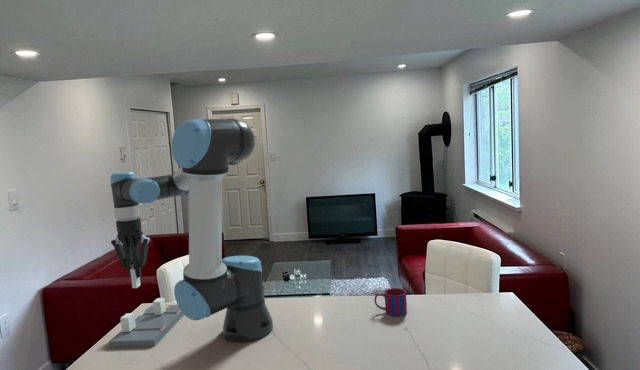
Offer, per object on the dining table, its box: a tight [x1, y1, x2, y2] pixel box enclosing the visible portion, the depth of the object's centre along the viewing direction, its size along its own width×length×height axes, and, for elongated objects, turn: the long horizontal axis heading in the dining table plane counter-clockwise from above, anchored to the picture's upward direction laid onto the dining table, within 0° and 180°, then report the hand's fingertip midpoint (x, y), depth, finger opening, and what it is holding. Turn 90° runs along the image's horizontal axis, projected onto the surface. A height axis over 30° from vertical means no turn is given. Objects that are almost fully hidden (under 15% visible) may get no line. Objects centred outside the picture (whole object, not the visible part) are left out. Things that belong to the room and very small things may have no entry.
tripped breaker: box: [152, 297, 167, 315], centre depth 143 cm, size 4×2×4 cm
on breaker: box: [120, 312, 136, 332], centre depth 131 cm, size 4×2×4 cm
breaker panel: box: [108, 304, 185, 349], centre depth 137 cm, size 26×14×2 cm, turn 175°
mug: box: [374, 287, 408, 318], centre depth 134 cm, size 7×10×7 cm
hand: (136, 286), depth 143 cm, fingers closed
